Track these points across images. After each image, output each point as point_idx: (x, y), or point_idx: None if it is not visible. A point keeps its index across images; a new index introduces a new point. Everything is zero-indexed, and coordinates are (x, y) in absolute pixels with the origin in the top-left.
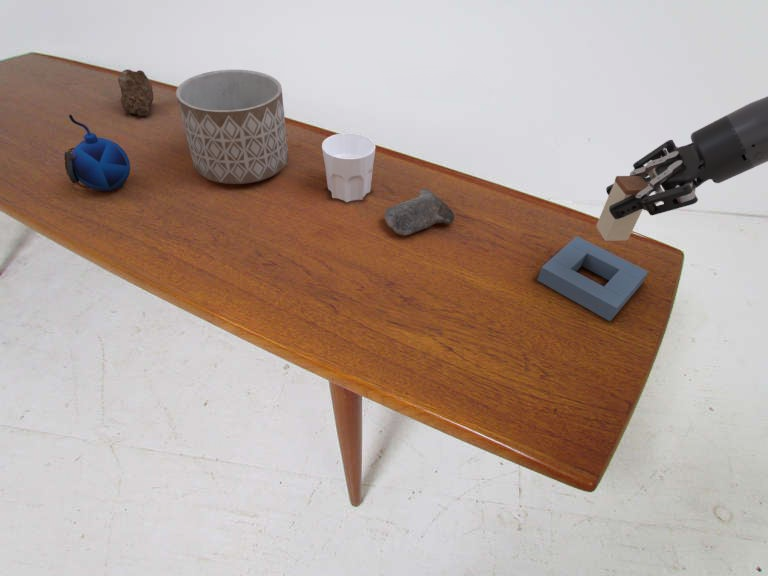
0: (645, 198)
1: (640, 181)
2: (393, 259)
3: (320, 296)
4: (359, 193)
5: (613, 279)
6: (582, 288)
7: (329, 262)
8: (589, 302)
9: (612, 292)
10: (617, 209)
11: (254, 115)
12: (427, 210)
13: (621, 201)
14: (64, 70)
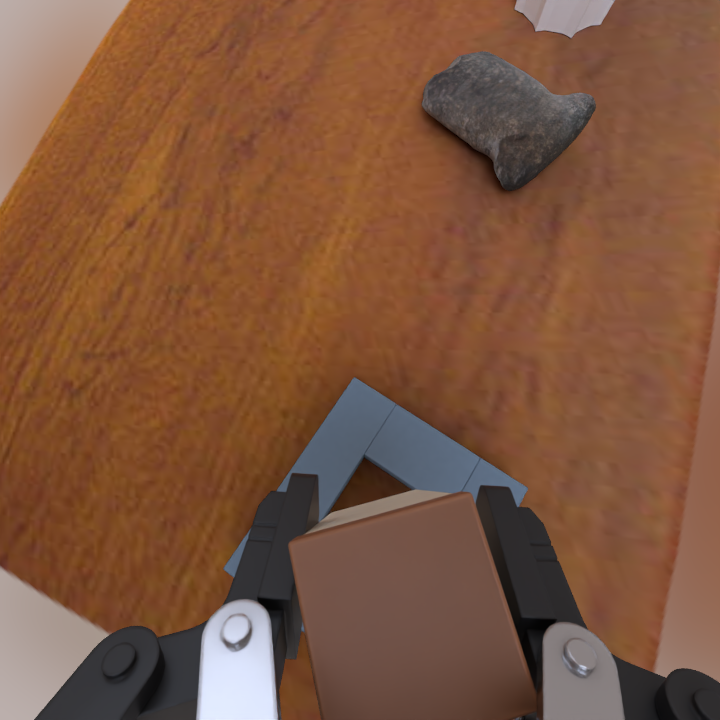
0: (120, 656)
1: (443, 685)
2: (356, 109)
3: (234, 28)
4: (539, 8)
5: None
6: (288, 479)
7: (322, 21)
8: None
9: None
10: (269, 505)
11: None
12: (496, 110)
13: (297, 524)
14: None
